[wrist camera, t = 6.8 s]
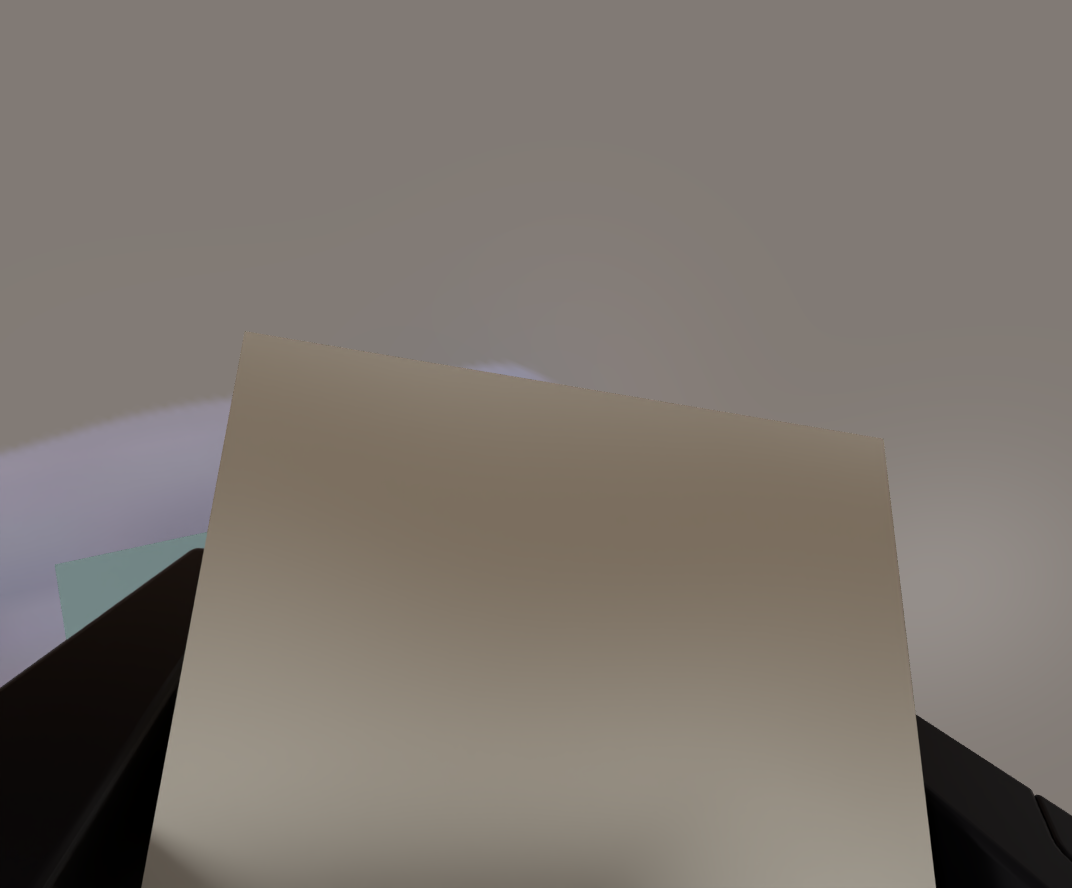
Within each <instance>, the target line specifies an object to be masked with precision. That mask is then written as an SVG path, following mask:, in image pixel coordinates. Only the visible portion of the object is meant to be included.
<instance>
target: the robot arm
mask: <svg viewBox="0 0 1072 888" xmlns="http://www.w3.org/2000/svg"><path fill="white" fill-rule="evenodd" d="M203 553H204V548H194V549H192V550H190V551H188V552H187V553H186V554H184V555H183V556H182V557H180V558H179V559H177V560H176V561H175V562H173V563H172V564H171V565H169V566H168V567H166V568H165V569H164V570H162V571H161V572H159V573H158V574H157V575H155V576H154V577H153V578H151V579H150V580H148V581H147V582H146V583H144V584H143V585H141V586H140V587H139V588H137V589H136V590H135V591H133V592H132V593H130V594H129V595H128V596H126V597H125V598H124V599H122V600H121V601H119V602H118V603H117V604H115V605H114V606H112V607H111V608H110V609H108V610H107V611H106V612H104V613H103V614H101V615H100V616H99V617H97V618H96V619H94V620H93V621H92V622H90V623H89V624H88V625H86V626H85V627H83V628H82V629H81V630H79V631H78V632H77V633H75V634H74V635H72V636H71V637H70V638H68V639H67V640H65V641H64V642H63V643H61V644H60V645H59V646H57V647H56V648H54V649H53V650H52V651H50V652H49V653H48V654H46V655H45V656H43V657H42V658H41V659H39V660H38V661H36V662H35V663H34V664H32V665H31V666H30V667H28V668H27V669H25V670H24V671H23V672H21V673H20V674H18V675H17V676H16V677H14V678H13V679H12V680H10V681H9V682H7V683H6V684H5V685H3V686H2V687H1V688H0V888H141V887H142V881H143V876H144V870H145V865H146V860H147V854H148V849H149V844H150V838H151V833H152V827H153V822H154V817H155V811H156V806H157V800H158V795H159V790H160V784H161V779H162V774H163V768H164V763H165V757H166V752H167V747H168V741H169V736H170V731H171V725H172V720H173V714H174V709H175V704H176V698H177V693H178V687H179V682H180V677H181V671H182V666H183V661H184V655H185V650H186V644H187V639H188V634H189V628H190V623H191V617H192V612H193V607H194V601H195V596H196V591H197V585H198V580H199V574H200V569H201V564H202V558H203ZM916 722H917V731H918V739H919V748H920V756H921V765H922V774H923V782H924V791H925V799H926V808H927V816H928V825H929V833H930V842H931V850H932V859H933V867H934V876H935V885H936V888H1072V816H1071V815H1070V814H1068V813H1067V812H1065V811H1064V810H1062V809H1060V808H1059V807H1057V806H1056V805H1055V804H1053V803H1051V802H1050V801H1048V800H1047V799H1045V798H1044V797H1042V796H1040V795H1035V796H1034V794H1033V792H1032V790H1031V789H1030V788H1028V787H1027V786H1025V785H1024V784H1022V783H1020V782H1019V781H1017V780H1016V779H1014V778H1013V777H1011V776H1010V775H1008V774H1006V773H1005V772H1004V771H1002V770H1000V769H999V768H997V767H996V766H994V765H993V764H991V763H990V762H988V761H987V760H985V759H984V758H982V757H980V756H979V755H977V754H976V753H974V752H973V751H971V750H970V749H968V748H966V747H965V746H964V745H962V744H960V743H959V742H957V741H956V740H954V739H953V738H951V737H949V736H948V735H947V734H945V733H944V732H942V731H940V730H939V729H937V728H936V727H934V726H933V725H931V724H930V723H928V722H927V721H925V720H924V719H922V718H920V717H919V716H917V715H916Z"/></svg>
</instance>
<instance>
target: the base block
mask: <svg viewBox="0 0 1072 888" xmlns="http://www.w3.org/2000/svg"><path fill="white" fill-rule="evenodd" d="M206 537H207V532H205V533H201V534H196V535H191V536H187V537H182V538H177V539H173V540H168V541H163V542H159V543H154V544H149V545H145V546H140V547H135V548H131V549H126V550H121V551H117V552H112V553H107V554H103V555H98V556H93V557H89V558H84V559H79V560H75V561H70V562H65V563H61V564H56V565H55V570H56V576H57V583H58V589H59V596H60V602H61V609H62V615H63V622H64V628H65V635H66V640H67V639H68V638H70V637H71V636H72V635H74V634H75V633H77V632H78V631H79V630H81V629H82V628H83V627H85V626H86V625H88V624H89V623H90V622H92V621H93V620H94V619H96V618H97V617H99V616H100V615H101V614H103V613H104V612H106V611H107V610H108V609H110V608H111V607H112V606H114V605H115V604H117V603H118V602H119V601H121V600H122V599H124V598H125V597H126V596H128V595H129V594H130V593H132V592H133V591H135V590H136V589H137V588H139V587H140V586H141V585H143V584H144V583H146V582H147V581H148V580H150V579H151V578H153V577H154V576H155V575H157V574H158V573H159V572H161V571H162V570H164V569H165V568H166V567H168V566H169V565H171V564H172V563H173V562H175V561H176V560H177V559H179V558H180V557H182V556H183V555H184V554H186V553H187V552H188V551H190V550H192V549H194V548H205V542H206Z"/></svg>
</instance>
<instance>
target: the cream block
mask: <svg viewBox="0 0 1072 888" xmlns="http://www.w3.org/2000/svg"><path fill="white" fill-rule="evenodd" d="M141 888H936V885H935V876H934V867H933V859H932V850H931V842H930V833H929V825H928V816H927V808H926V799H925V791H924V782H923V774H922V765H921V756H920V748H919V739H918V731H917V722H916V714H915V705H914V697H913V688H912V680H911V672H910V664H909V654H908V646H907V637H906V629H905V621H904V611H903V603H902V594H901V586H900V577H899V569H898V560H897V552H896V543H895V535H894V526H893V517H892V509H891V501H890V492H889V484H888V475H887V467H886V458H885V449H884V441H883V439H881V438H875V437H869V436H863V435H857V434H852V433H845V432H840V431H834V430H828V429H822V428H815V427H810V426H804V425H798V424H792V423H786V422H781V421H775V420H768V419H763V418H756V417H751V416H745V415H739V414H733V413H727V412H720V411H715V410H709V409H703V408H697V407H691V406H685V405H679V404H674V403H667V402H662V401H655V400H649V399H644V398H638V397H632V396H626V395H620V394H614V393H608V392H602V391H596V390H590V389H584V388H578V387H572V386H567V385H561V384H555V383H549V382H543V381H537V380H531V379H525V378H519V377H513V376H507V375H501V374H495V373H489V372H483V371H477V370H472V369H466V368H460V367H454V366H448V365H442V364H436V363H429V362H424V361H417V360H412V359H406V358H400V357H394V356H388V355H382V354H376V353H370V352H364V351H359V350H352V349H347V348H341V347H335V346H329V345H323V344H317V343H310V342H305V341H299V340H292V339H287V338H281V337H275V336H269V335H263V334H257V333H252V332H246V331H245V332H244V338H243V343H242V349H241V354H240V359H239V365H238V370H237V375H236V381H235V386H234V391H233V397H232V402H231V408H230V413H229V418H228V424H227V429H226V435H225V440H224V445H223V451H222V456H221V461H220V467H219V472H218V478H217V483H216V488H215V494H214V499H213V504H212V510H211V515H210V521H209V526H208V531H207V537H206V542H205V548H204V553H203V558H202V564H201V569H200V574H199V580H198V585H197V591H196V596H195V601H194V607H193V612H192V617H191V623H190V628H189V634H188V639H187V644H186V650H185V655H184V661H183V666H182V671H181V677H180V682H179V687H178V693H177V698H176V704H175V709H174V714H173V720H172V725H171V731H170V736H169V741H168V747H167V752H166V757H165V763H164V768H163V774H162V779H161V784H160V790H159V795H158V800H157V806H156V811H155V817H154V822H153V827H152V833H151V838H150V844H149V849H148V854H147V860H146V865H145V870H144V876H143V881H142V887H141Z"/></svg>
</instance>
